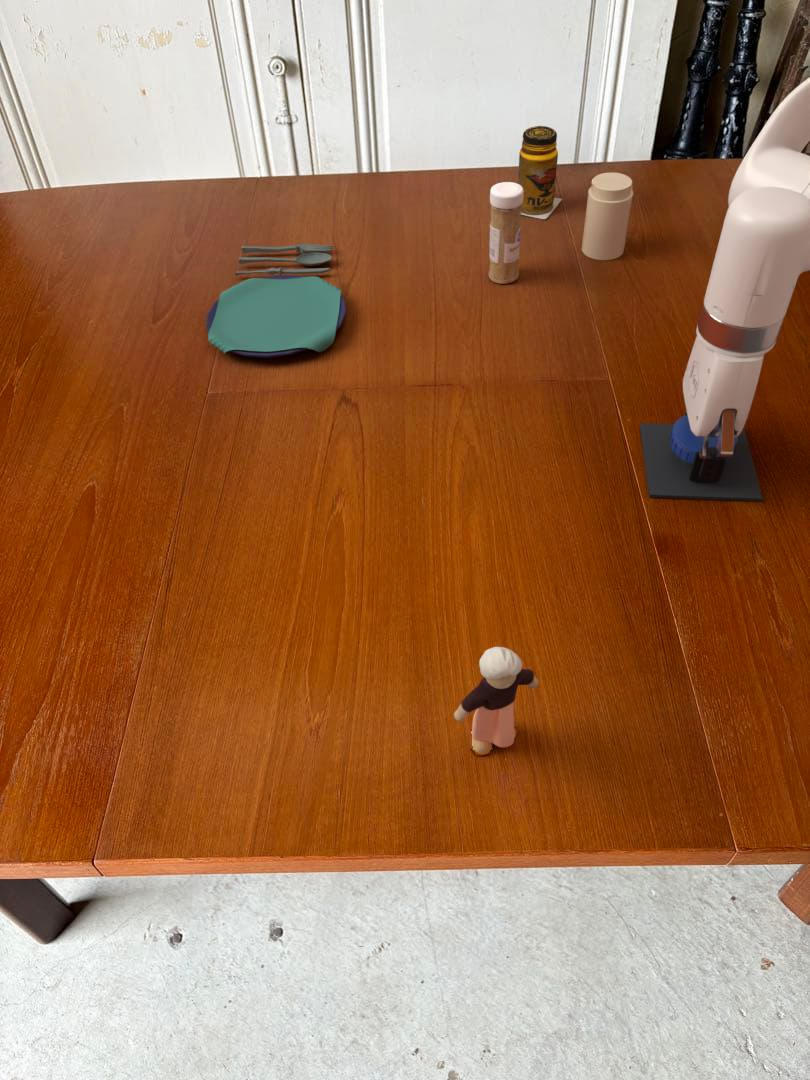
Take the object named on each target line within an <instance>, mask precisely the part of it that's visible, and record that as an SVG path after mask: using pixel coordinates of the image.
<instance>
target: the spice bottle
mask: <svg viewBox="0 0 810 1080" xmlns="http://www.w3.org/2000/svg"><path fill="white" fill-rule="evenodd" d="M523 192H524V191H523V188H522V186H521V185H519V184H518V182H512V181H503V182H499V183H496V184H494V185H492V186H491V188H490V191H489V203H490V222H489V250H488V251H489V252H488V253H489V271H488V278H489V279H490V281H492V282H493V283H495V284H501V285H505V284H507V285H508V284H510V283H513V282H515V281H516V280H517V279H518V278H519V275H520V271H519V262H520V261H519V260H520V259H519V258H520V249H521V229H522V228H521V223H522V222H521V221H522V215H521V206H522V203H523Z"/></svg>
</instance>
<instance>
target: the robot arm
mask: <svg viewBox="0 0 810 1080" xmlns="http://www.w3.org/2000/svg"><path fill="white" fill-rule="evenodd" d="M809 142H810V76H809V77H808V78H807V79H805V80H804V81H802V82H801V83H800V84H799V85H798V86H796V87H795V88H794V89H793V90H792V91H790V93H788V95H786V97H784V99H783V100H782V101H781V102H780V103H779V105H778V106H777V107H776V108H775V110H774V111H773V112H772V114H771V115H770V116H769V118H768V120H766V123H765V124H764V126H763V127H762V129H761V130H760V132H759V133H758V135H757V137H756V138H755V139H754V141H753V142H752V144H751V146H750V147H749V149H748V151H747V152H746V154H745V156H744V157H743V158H742V161H741V163H740V164H739V166H738V168H737V170H736V172H735V174H734V176H733V178H732V181H731V184H730V187H729V191H728V196H727V205H728V208H727V211H726V214H725V216H724V220H723V225H722V229H721V232H720V236H719V241H718V244H717V248H716V252H715V255H714V260H713V263H712V267H711V271H710V275H709V278H708V283H707V287H706V291H705V295H704V298H703V302H702V306H701V309H700V314H699V318H698V321H697V325H696V331H695V333H696V337H695V339H694V342H693V345H692V349H691V353H690V356H689V359H688V362H687V365H686V368H685V371H684V374H683V375H684V376H683V378H682V393H683V399H684V405H685V412H684V416H685V415H688V420H689V424H690V428H691V431H692V432H693V434H694V435H695V436H697V437H699V436H702V439H701V446H700V452H696V454H695V457H694V461H693V464H692V467H691V471H690V474H689V480H690V481H691V482H718V481H719V480H720V477H721V474H722V471H723V468H724V465H725V462H726V460H727V459H728V458H730V457H732V455H733V445H734V438H735V437H737V436H738V435H739V434H740V433H741V432H742V430H743V427H744V428H745V425H746V422H747V419H748V417H749V414H750V411H751V407H752V404H753V401H754V398H755V393H756V390H757V387H758V384H759V383H758V382H759V379H760V374H761V370H762V367H763V362H764V356H765V354H767V353H768V352H770V351H772V349H773V348H775V347H774V346H775V345H776V344H777V343H776V342H777V340H778V336H779V333H780V331H781V327H782V325H783V322H784V319H785V316H786V314H787V311H788V308H789V306H790V302H791V299H792V296H793V293H794V291H795V288H796V285H797V281H798V279H799V277H800V275H801V274H802V273H805V272H808V271H810V155H808V154H805V153H802V152H803V150H804V148H805V147H806V146H807V144H808V143H809ZM717 424H719V429H714V428H715V427H716V426H717ZM710 437H718V445H717V446H716V447H709V448H708V445H709V439H710Z"/></svg>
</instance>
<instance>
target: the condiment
mask: <svg viewBox="0 0 810 1080" xmlns="http://www.w3.org/2000/svg"><path fill="white" fill-rule="evenodd" d="M557 141H558V132H557V131H556V130H555V129H554V128H552V127H549V126H545V125H536V126H531V127H528V128H527V129H525V131H523V134H522V142H521V148H520V150H519V154H518V155H519V156H518V174H517V175H518V176H517V184H519V185H521V186H522V188H523V191H524V192H523V203H522V206H521V216H526V217H530V218H534V219H539V220H546V219H547V218H548V217H550V215H552V213H553V212H554V211H555V209H556V208H557V207H558V205H559V204H560V203H561V201H563V198H559V197H555V193H556V181H557V180H556V179H557V168H558V159H559V158H558V157H559V151H558V148H557V145H558V143H557Z"/></svg>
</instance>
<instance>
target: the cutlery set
mask: <svg viewBox="0 0 810 1080" xmlns="http://www.w3.org/2000/svg"><path fill="white" fill-rule="evenodd" d="M241 251H242V254H248V253H282V252H289V251H290V252H291V251H295V252H296V253H299V254H300V255H298V256H295V257H294V258H285V257H265V256H260V257H259V256H257V257H256V256H254V257H253V256H251V257H250V256H239V257H238V260H237V261H238V263H239V265H241V264H250V263H267V262H270V263H271V262H272V263H298V264H300V265H302V266H307V267H314V266H319V265H323V264H325V263H327V262H328V261H331V260H332V257H333V255H331V254H328V253H329V252H333V251H334V244H330V245H329V244H328V245H326V244H325V245H323V244H310V243H309V244H308V243H305V242H301V243H298V242H296V243H295V245H285V246H260V245H242V246H241ZM330 271H331V268H330V267H322V268H321V267H319V268H291V269H289V268H288V269H283V268H282V266H279V268H275V267H270V268H267V269H259V270H251V271H250V270H244V271H243V270H235V273H234V274H235V277H237V276H238V275H249V274H268V275H272V276H266V277H251V278H247V279H245V280H243V281H241V282H239V283H237V284H235V285H233V286H231V287H228V288H227V289H226V290H223V291H221V293H220V294H219V298H218V299H217V300H216V301H215V302H214V303H213V304H212V306H211V308H210V309H209V311H208V312H207V314H206V323H205V328H206V329H205V330H206V331H207V333H208V336H207V339H208V342H209V343H210V345H211V346H214V347H215V348H216V349H218V350H219V351H220V352H222V353H223V354H226V353H227V352H231V353H234V354H236V355H240V356H243V357H252V358H267V359H268V358H277V357H283V356H289V355H290V356H291V355H294V354H297V353H300V352H303V351H306V350H313V351H316V352H318V353H323V352H324V351H326V350H327V349H328V348H330V347H331V346H332V344H333V343H334V341H335V337H336V332H337V330H339V329H340V328H341V326H342V325H343V322H344V320H345V317H346V314H347V307H346V300H345V298H344V297H343V295H342V289H341V288H339V287H338V286H335V285H334V284H332V283H329V281H326V280H325V279H323V278H321V277H319V276H315V275H313V276H312V275H311V274H324V273H327V272H330ZM276 274H277V275H276ZM305 275H311V276H305ZM322 351H323V352H322Z"/></svg>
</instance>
